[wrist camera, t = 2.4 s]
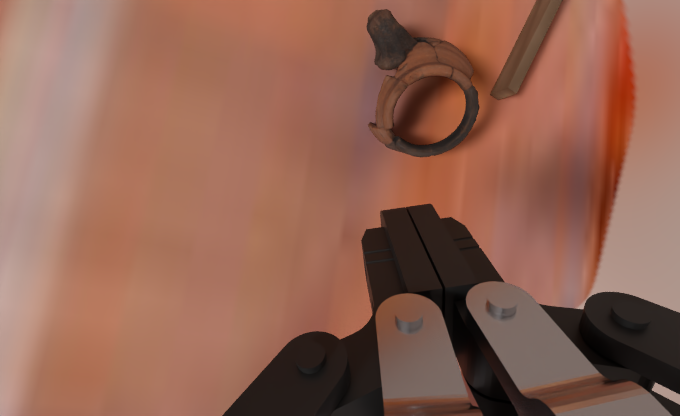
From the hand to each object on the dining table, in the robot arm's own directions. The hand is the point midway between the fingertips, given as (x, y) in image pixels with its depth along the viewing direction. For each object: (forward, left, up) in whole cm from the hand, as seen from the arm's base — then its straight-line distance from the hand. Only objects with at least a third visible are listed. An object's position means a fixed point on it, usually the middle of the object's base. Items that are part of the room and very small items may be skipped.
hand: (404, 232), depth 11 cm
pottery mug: (+3, +12, -21) cm, 24 cm away
